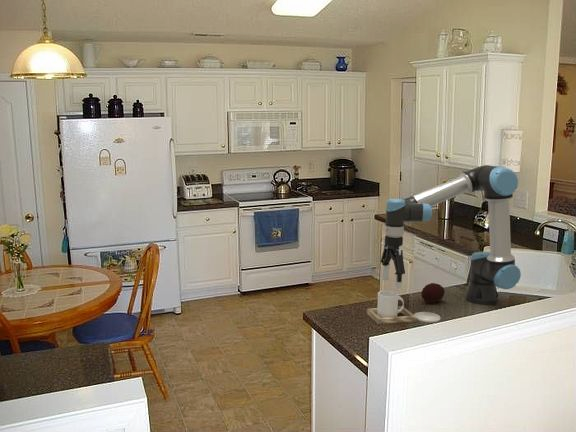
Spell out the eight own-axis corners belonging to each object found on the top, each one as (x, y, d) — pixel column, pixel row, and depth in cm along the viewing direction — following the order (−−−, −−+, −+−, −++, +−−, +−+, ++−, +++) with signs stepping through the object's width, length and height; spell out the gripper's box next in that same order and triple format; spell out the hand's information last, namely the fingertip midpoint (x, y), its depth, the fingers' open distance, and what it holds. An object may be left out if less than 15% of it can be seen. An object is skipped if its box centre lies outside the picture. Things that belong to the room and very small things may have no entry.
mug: (408, 319, 234) (409, 295, 232) (382, 321, 230) (383, 297, 229) (398, 312, 242) (399, 289, 240) (373, 315, 239) (374, 291, 237)
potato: (448, 303, 255) (449, 284, 253) (427, 306, 250) (428, 287, 248) (436, 298, 263) (437, 279, 261) (415, 301, 258) (416, 282, 256)
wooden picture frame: (402, 310, 244) (402, 306, 244) (415, 321, 231) (416, 316, 231) (366, 313, 241) (366, 308, 240) (377, 323, 228) (378, 319, 227)
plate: (432, 312, 242) (432, 311, 242) (445, 321, 231) (445, 319, 231) (409, 314, 240) (409, 312, 239) (420, 323, 229) (421, 321, 229)
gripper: (374, 230, 241) (372, 276, 245) (397, 242, 217) (394, 293, 221) (390, 230, 243) (388, 276, 246) (415, 241, 219) (412, 292, 222)
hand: (391, 284), depth 234 cm, fingers open, 13 cm apart
